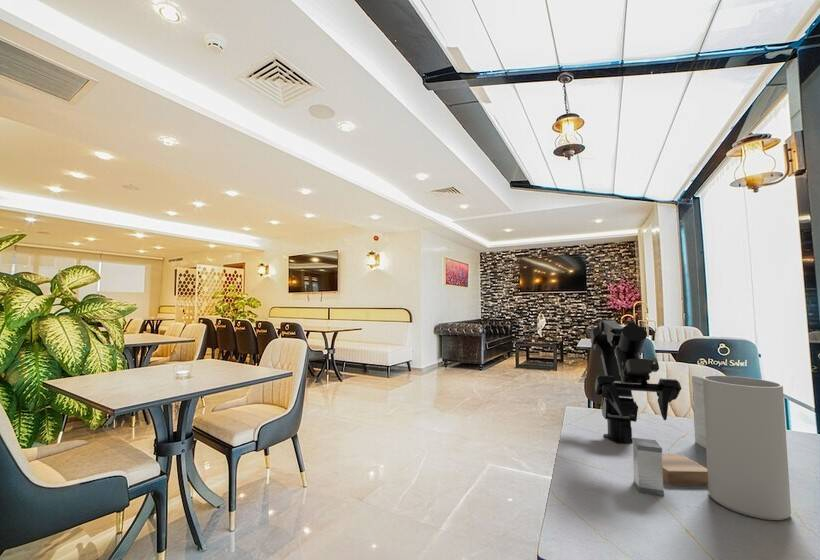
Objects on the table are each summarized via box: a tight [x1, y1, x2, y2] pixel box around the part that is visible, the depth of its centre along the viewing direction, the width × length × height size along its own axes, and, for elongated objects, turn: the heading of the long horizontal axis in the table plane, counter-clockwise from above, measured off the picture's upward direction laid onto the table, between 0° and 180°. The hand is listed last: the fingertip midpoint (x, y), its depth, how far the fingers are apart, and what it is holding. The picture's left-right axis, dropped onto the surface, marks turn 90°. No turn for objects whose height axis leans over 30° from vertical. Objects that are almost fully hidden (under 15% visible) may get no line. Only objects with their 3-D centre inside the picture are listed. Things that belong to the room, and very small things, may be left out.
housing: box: [631, 437, 665, 497], centre depth 83 cm, size 5×5×10 cm
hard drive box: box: [691, 375, 706, 449], centre depth 104 cm, size 16×8×20 cm, turn 169°
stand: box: [662, 453, 708, 486], centre depth 89 cm, size 10×10×3 cm
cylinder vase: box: [703, 375, 792, 521], centre depth 77 cm, size 12×12×25 cm
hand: (643, 417), depth 91 cm, fingers open, 9 cm apart
